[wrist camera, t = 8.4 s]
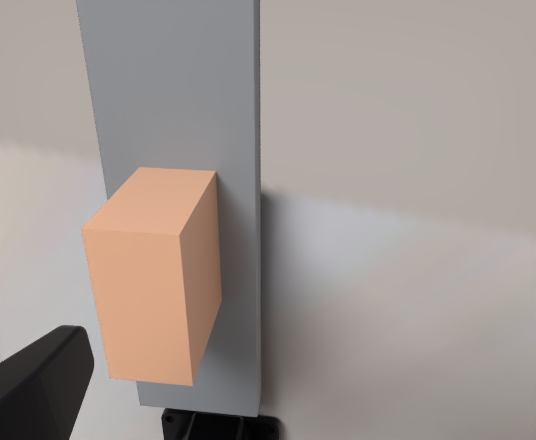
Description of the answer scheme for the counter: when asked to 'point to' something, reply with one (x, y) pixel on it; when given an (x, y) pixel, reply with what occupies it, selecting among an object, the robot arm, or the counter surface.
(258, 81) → the gray rectangular panel
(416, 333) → the counter surface
